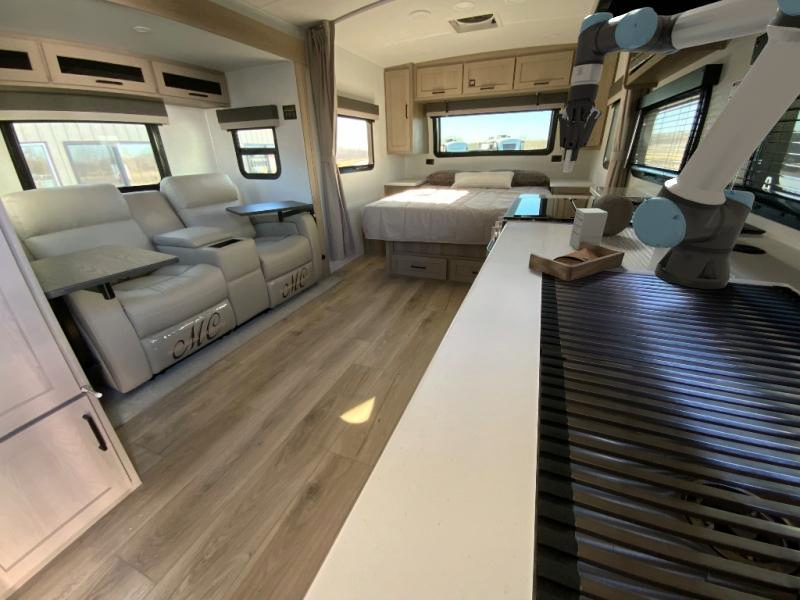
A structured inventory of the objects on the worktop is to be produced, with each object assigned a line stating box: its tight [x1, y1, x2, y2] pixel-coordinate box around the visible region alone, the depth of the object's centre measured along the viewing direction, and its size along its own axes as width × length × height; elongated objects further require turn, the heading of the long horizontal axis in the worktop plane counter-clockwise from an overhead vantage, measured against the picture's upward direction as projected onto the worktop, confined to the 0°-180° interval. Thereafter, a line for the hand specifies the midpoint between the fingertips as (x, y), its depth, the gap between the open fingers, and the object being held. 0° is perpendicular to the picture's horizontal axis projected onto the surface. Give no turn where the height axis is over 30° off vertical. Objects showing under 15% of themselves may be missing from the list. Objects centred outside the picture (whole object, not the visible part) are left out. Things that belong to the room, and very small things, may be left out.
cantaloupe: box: [591, 193, 635, 237], centre depth 124 cm, size 14×14×15 cm
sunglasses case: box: [552, 248, 598, 266], centre depth 98 cm, size 18×7×7 cm, turn 125°
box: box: [528, 241, 626, 283], centre depth 98 cm, size 14×24×4 cm, turn 119°
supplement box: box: [569, 207, 608, 251], centre depth 112 cm, size 7×7×13 cm
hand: (567, 172), depth 105 cm, fingers closed
